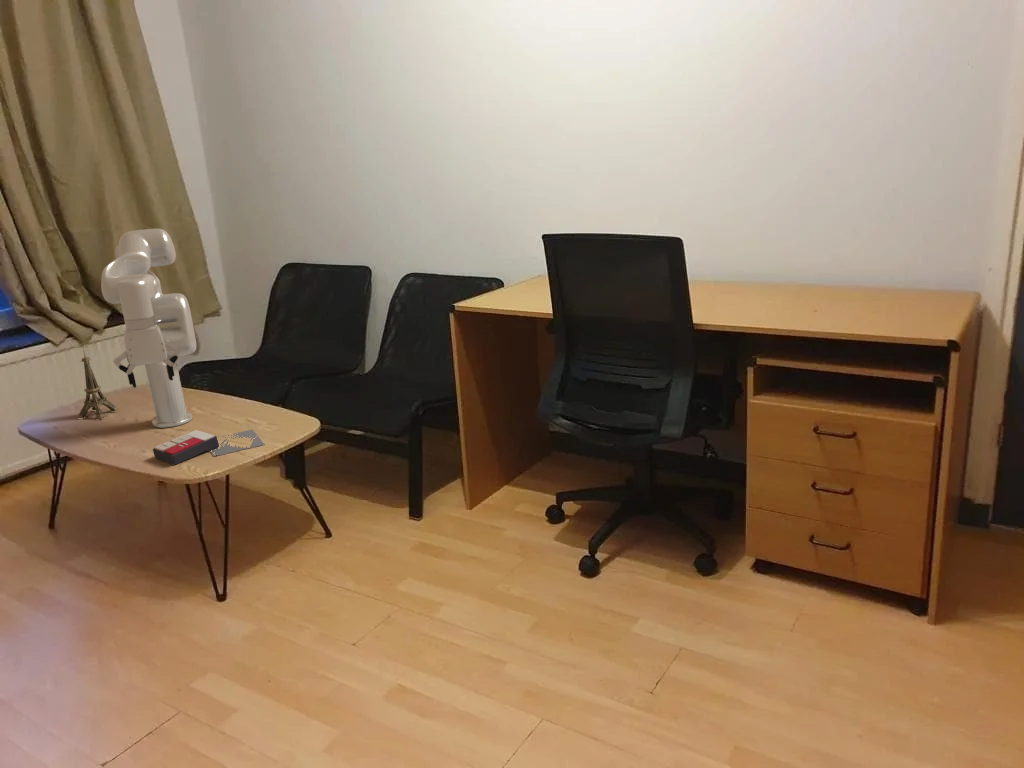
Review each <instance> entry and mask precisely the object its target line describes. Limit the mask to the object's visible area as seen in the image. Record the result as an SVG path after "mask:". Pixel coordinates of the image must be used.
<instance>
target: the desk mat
mask: <svg viewBox="0 0 1024 768" xmlns="http://www.w3.org/2000/svg"><path fill="white" fill-rule="evenodd" d="M237 433H238V434H237ZM232 434H233V435H234V436H236V437H238V436H239V437H238V438H240V437H241V438H243V437H246V438H247V437H248V438H251V437H252V438H251V440H252V439H253V438H255V437H256V436H257V437H256V438H255V439H253V442H252V444H251V446H250V448H249V449H253V448H256V447H261V446H265V443H264V442H263V441H262V439H261V438H260V437H259V435H258V434H257V433H256V432H255V431H254V429H248V430H244V431H240V432H236V433H232ZM235 434H236V435H235ZM227 435H228V436H229V435H230V434H227ZM237 435H238V436H237ZM224 436H225V435H222V437H224ZM231 436H232V435H231ZM234 436H233V437H234ZM242 436H243V437H242ZM249 436H250V437H249ZM236 437H235V438H236ZM225 438H226V437H225ZM231 438H232V437H231ZM233 439H234V438H233ZM226 440H227V439H226ZM226 440H224V441H223V442H222V443H221V444H223V443H224V442H225V441H226ZM251 440H250V441H251ZM228 441H229V440H228ZM228 441H227V443H226V444H225V446H224V447H223V446H222V445H221V444H220V445H221V447H220V449H218V448H216V450H215V449H213V450H212V452H210V454H211V453H212V454H211V455H212V457H213V458H215V457H218V455H220V456H223V455H222V454H224V455H227V453H228V454H232V453H236V452H240V451H239V450H241V451H244V450H243V449H245V450H248V448H247V446H246V448H243V447H242V448H240V447H239V446H238V448H237V447H236V445H235V447H232V446H231V447H230V444H229V445H228V446H227V444H228ZM218 444H219V443H218ZM252 447H253V448H252ZM214 452H215V455H214V454H213V453H214ZM216 455H217V456H216ZM214 456H215V457H214Z"/></svg>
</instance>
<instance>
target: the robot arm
mask: <svg viewBox="0 0 1024 768" xmlns="http://www.w3.org/2000/svg"><path fill="white" fill-rule="evenodd" d="M176 253H177V252H176V249H175V244H174V242H173V240H172V238H171V236H170V234H169V233H168V232H167V231H166V230H165V229H162V228H147V229H139V230H138V229H137V230H130V231H126V232H125V233H123V234H122V235H121V236H120V238H119V241H118V245H117V246H115V249H114V254H115V259H113V260H112V261H111V262H110V263H108V264H107V265H106V266H105V267H104V268H103V270H102V273H101V288H100V289H101V294H102V296H103V298H104V300H105V301H106V302H107V303H109V304H112V305H118V304H120V305H121V310H122V315H123V321H124V324H125V328H126V329H124V330H123V343H124V352H122V353H120V354H119V355H118V356H117V357H114V359H113V360H112V363H114V365H115V366H116V367H117V368H118V369H119V370H120V371H122V372H124V373H125V374H126V375H127V378H128V379H127V380H128V382H129V383H128V384H129V385H130V386H131V385H132V387H133V388H136V387H137V383H136V378H135V375H134V372H133V371H134V369H135V367H140V366H144V368H145V372H146V375H147V376H146V377H147V380H148V381H147V382H148V386H149V389H150V390H149V391H150V395H151V399H152V404H153V409H154V414H155V417H154V418H153V420H151V424H152V426H153V427H155V428H160V429H161V428H163V429H164V428H174V427H176V426H177V427H178V426H181V425H184V424H187V423H188V422H191V420H193V414H192V412H190V411H189V412H188V411H187V409H186V404H185V397H184V393H183V387H182V384H181V383H182V382H181V379H180V378H181V377H180V373H179V370H178V369H179V368H178V366H176V364H175V363H176V362H177V360H178V358H179V356H186V355H192V354H194V353H195V352H196V350H197V340H196V334H195V333H196V332H195V328H194V321H193V317H192V312H191V308H190V304H189V300H188V299H187V297H186V295H184V294H183V293H177V292H175V293H167V294H164V293H163V292H162V286H161V285H162V284H161V280H160V279H159V278H158V276H157V275H156V274H155V273H154V272H152V271H151V270H150V269H151V268H152V267H161V266H162V267H163V266H170V265H173V264H174V263H175V261H176V257H177V256H176V255H177V254H176ZM168 324H177V325H178V326H173V327H164V328H160V325H168ZM169 358H170V359H169ZM125 359H126V360H127V363H128V365H127V366H125V365H124V364H122V361H123V360H125Z"/></svg>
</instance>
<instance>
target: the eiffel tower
mask: <svg viewBox="0 0 1024 768" xmlns="http://www.w3.org/2000/svg"><path fill="white" fill-rule="evenodd" d="M82 349H83V351H82V352H83V357H82V358H81V362H83V366H84V367H83V369H84V376H85V377H84V378H85V379H84V380H85V388H84V390H83V391H84V392H85V398H84V399H85V400H84V401H83V406H82V408H81V409H80V412H78V415H77V417H76V418H84V417H86V416H87V413H88V412H89V410H90V409H91V408H92V409H91V411H92V410H96V412H95V419H102V418H104V417H105V416H106V415H105V414H104V412H103V411H102V410H101V409H100V408H101V406H105V407H106V408H107V409H109V412H110V411H117V410H118V409H119V407H118V406H117V405H115V404H114V403H112V402H111V401H110V400H108V399H107V398H108V397H107V396H105V395H104V394H103V392H102V391H101V388H102V386H101V385H99V384H98V381H97V380H96V377H95V375H94V372H93V369H92V366H91V364H90V361H91V358H90V356H87V355H86V353H85V350H84V348H82ZM97 394H98V396H97ZM95 419H94V420H95Z"/></svg>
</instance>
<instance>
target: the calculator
mask: <svg viewBox="0 0 1024 768" xmlns="http://www.w3.org/2000/svg"><path fill="white" fill-rule="evenodd" d="M217 437H218V436H217V435H215V434H211V433H207V432H203V431H201V430H197V429H194V430H192V431H191V432H188V433H186V434H182V435H180V436H177V437H175V438H172V439H170V440H169V441H165V442H163V443H161V444H159V445H155V446H154V448H153V449H152V451H153V452H152V453H153V455H154V458H155V459H157V460H159V461H162V462H164V463H167V462H168V464H170V463H171V464H170V465H173V464H174V466H175V464H176V465H177V464H180V463H183V462H185V461H186V460H188V459H191V458H194V457H196V456H198V455H200V454H202V453H205V452H210V451H211V450H213V449H216V448H218V447H219V444H218V440H217Z"/></svg>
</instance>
